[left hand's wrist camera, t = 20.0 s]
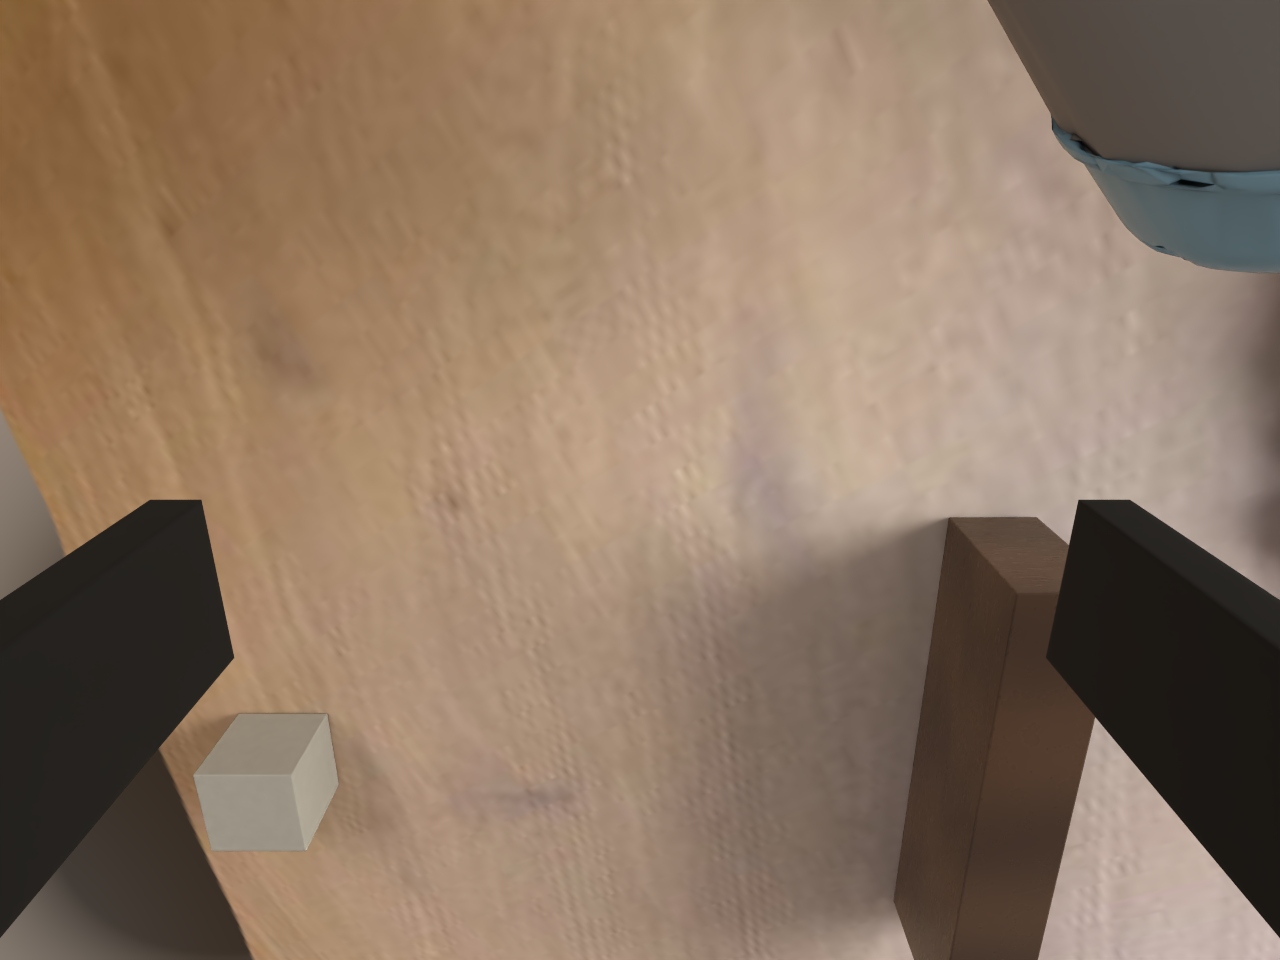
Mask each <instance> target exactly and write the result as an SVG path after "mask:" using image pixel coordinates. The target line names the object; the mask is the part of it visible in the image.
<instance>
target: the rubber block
mask: <svg viewBox="0 0 1280 960" xmlns="http://www.w3.org/2000/svg"><path fill="white" fill-rule="evenodd" d="M193 777H194V781H195V785H196V789H197V793H198V797H199V801H200V805H201V810H202V814H203V818H204V822H205V826H206V830H207V834H208V838H209V842H210V846H211V850H212V851H306V850H307V848H308V846H309V844H310V842H311V840H312V838H313V836H314V834H315V832H316V830H317V828H318V826H319V824H320V822H321V820H322V818H323V816H324V814H325V812H326V810H327V808H328V806H329V804H330V802H331V800H332V797H333V795H334V793H335V791H336V789H337V787H338V785H339V782H338V776H337V770H336V764H335V758H334V752H333V746H332V740H331V734H330V728H329V722H328V715H327V714H238V715H237V717H236V718H235V719H234V721H233V722H232V723H231V725H230V726H229V728H228V729H227V730H226V732H225V733H224V734H223V736H222V737H221V738H220V740H219V741H218V742H217V744H216V745H215V746H214V748H213V749H212V750H211V752H210V753H209V755H208V756H207V757H206V759H205V760H204V761H203V763H202V764H201V765H200V767H199V768H198V769H197V771H196V772H195V773H194V775H193Z"/></svg>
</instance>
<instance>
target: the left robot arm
mask: <svg viewBox="0 0 1280 960" xmlns="http://www.w3.org/2000/svg"><path fill="white" fill-rule="evenodd" d="M988 2H989V4H990V5H991V7H992V9H993V11H994V12H995V14H996V16H997V18H998V20H999V21H1000V23H1001V25H1002V27H1003V29H1004V30H1005V32H1006V34H1007V36H1008V38H1009V39H1010V41H1011V43H1012V45H1013V47H1014V48H1015V50H1016V52H1017V54H1018V56H1019V57H1020V59H1021V61H1022V63H1023V64H1024V66H1025V68H1026V70H1027V72H1028V73H1029V75H1030V77H1031V79H1032V81H1033V82H1034V84H1035V86H1036V88H1037V90H1038V91H1039V93H1040V95H1041V97H1042V99H1043V100H1044V102H1045V104H1046V106H1047V108H1048V109H1049V111H1050V113H1051V117H1052V130H1053V132H1054V134H1055V136H1056V138H1057V140H1058V141H1059V143H1060V144H1061V146H1062V147H1063V148H1064V149H1065V150H1066V151H1067V152H1068V153H1069V154H1070V155H1071V156H1072V157H1073V158H1075V159H1076V160H1078V161H1080V162H1082V163H1084V165H1085V166H1086V168H1087V169H1088V171H1089V172H1090V174H1091V175H1092V177H1093V178H1094V180H1095V182H1096V183H1097V185H1098V186H1099V188H1100V189H1101V191H1102V192H1103V194H1104V195H1105V197H1106V198H1107V200H1108V202H1109V203H1110V205H1111V206H1112V208H1113V209H1114V211H1115V212H1116V214H1117V215H1118V217H1119V218H1120V220H1121V221H1122V223H1123V224H1124V225H1125V226H1126V228H1127V229H1128V230H1129V231H1130V232H1131V233H1132V234H1133V235H1135V236H1136V237H1137V238H1138V239H1139V240H1140V241H1141V242H1143V243H1144V244H1146V245H1147V246H1149V247H1150V248H1152V249H1154V250H1156V251H1158V252H1162V253H1165V254H1169V255H1173V256H1177V257H1181V258H1183V259H1184V260H1189V261H1190V262H1192V263H1194V264H1196V265H1198V266H1202V267H1207V268H1211V269H1218V270H1226V271H1237V272H1252V273H1280V0H988ZM233 659H234V654H233V649H232V645H231V640H230V635H229V630H228V625H227V621H226V616H225V611H224V606H223V601H222V597H221V592H220V587H219V582H218V577H217V573H216V568H215V563H214V558H213V553H212V549H211V544H210V539H209V534H208V529H207V525H206V520H205V515H204V510H203V505H202V501H201V500H149V501H148V502H146V503H145V504H143V505H142V506H140V507H139V508H137V509H136V510H134V511H133V512H131V513H130V514H128V515H127V516H125V517H124V518H122V519H121V520H119V521H118V522H116V523H115V524H113V525H112V526H110V527H109V528H107V529H106V530H104V531H103V532H101V533H100V534H98V535H97V536H95V537H94V538H92V539H91V540H89V541H88V542H86V543H85V544H83V545H82V546H80V547H79V548H77V549H76V550H74V551H73V552H72V553H70V554H69V555H67V556H66V557H64V558H63V559H61V560H60V561H58V562H57V563H55V564H54V565H52V566H51V567H49V568H48V569H46V570H45V571H43V572H42V573H40V574H39V575H37V576H36V577H34V578H33V579H31V580H30V581H28V582H27V583H25V584H24V585H22V586H21V587H19V588H18V589H16V590H15V591H13V592H12V593H10V594H9V595H7V596H6V597H4V598H3V599H1V600H0V937H1V936H2V935H3V934H4V933H5V931H6V930H7V929H8V928H9V927H10V925H11V924H12V923H13V922H14V921H15V919H16V918H17V917H18V916H19V915H20V914H21V912H22V911H23V910H24V909H25V908H26V906H27V905H28V904H29V903H30V902H31V900H32V899H33V898H34V897H35V896H36V894H37V893H38V892H39V891H40V890H41V888H42V887H43V886H44V885H45V884H46V882H47V881H48V880H49V879H50V878H51V876H52V875H53V874H54V873H55V872H56V870H57V869H58V868H59V867H60V866H61V864H62V863H63V862H64V861H65V860H66V858H67V857H68V856H69V855H70V854H71V852H72V851H73V850H74V849H75V848H76V846H77V845H78V844H79V843H80V842H81V841H82V839H83V838H84V837H85V836H86V834H87V833H88V832H89V831H90V830H91V829H92V827H93V826H94V825H95V824H96V823H97V821H98V820H99V819H100V818H101V817H102V815H103V814H104V813H105V812H106V811H107V809H108V808H109V807H110V806H111V805H112V803H113V802H114V801H115V800H116V799H117V797H118V796H119V795H120V794H121V793H122V791H123V790H124V789H125V788H126V787H127V785H128V784H129V783H130V782H131V781H132V779H133V778H134V777H135V776H136V775H137V773H138V772H139V771H140V770H141V769H142V767H143V766H144V765H145V764H146V763H147V761H148V760H149V759H150V758H151V757H152V755H153V754H154V753H155V752H156V751H157V750H158V748H159V747H160V746H161V745H162V744H163V742H164V741H165V740H166V739H167V738H168V736H169V735H170V734H171V733H172V732H173V730H174V729H175V728H176V727H177V726H178V724H179V723H180V722H181V721H182V720H183V718H184V717H185V716H186V715H187V714H188V712H189V711H190V710H191V709H192V708H193V706H194V705H195V704H196V703H197V702H198V700H199V699H200V698H201V697H202V696H203V694H204V693H205V692H206V691H207V690H208V688H209V687H210V686H211V685H212V684H213V682H214V681H215V680H216V679H217V678H218V677H219V675H220V674H221V673H222V672H223V671H224V669H225V668H226V667H227V666H228V665H229V663H230V662H231V661H232V660H233ZM1046 659H1047V660H1048V661H1049V662H1050V663H1051V665H1052V666H1053V667H1054V668H1055V669H1056V671H1057V672H1058V673H1059V674H1060V675H1061V677H1062V678H1063V679H1064V680H1065V681H1066V682H1067V684H1068V685H1069V686H1070V687H1071V688H1072V690H1073V691H1074V692H1075V693H1076V694H1077V696H1078V697H1079V698H1080V699H1081V700H1082V702H1083V703H1084V704H1085V705H1086V706H1087V708H1088V709H1089V710H1090V711H1091V712H1092V714H1093V715H1094V716H1095V717H1096V718H1097V720H1098V721H1099V722H1100V723H1101V724H1102V726H1103V727H1104V728H1105V729H1106V730H1107V732H1108V733H1109V734H1110V735H1111V736H1112V738H1113V739H1114V740H1115V741H1116V742H1117V744H1118V745H1119V746H1120V747H1121V748H1122V750H1123V751H1124V752H1125V753H1126V754H1127V756H1128V757H1129V758H1130V759H1131V760H1132V761H1133V763H1134V764H1135V765H1136V766H1137V767H1138V769H1139V770H1140V771H1141V772H1142V773H1143V775H1144V776H1145V777H1146V778H1147V779H1148V781H1149V782H1150V783H1151V784H1152V785H1153V787H1154V788H1155V789H1156V790H1157V791H1158V793H1159V794H1160V795H1161V796H1162V797H1163V799H1164V800H1165V801H1166V802H1167V803H1168V805H1169V806H1170V807H1171V808H1172V809H1173V811H1174V812H1175V813H1176V814H1177V815H1178V817H1179V818H1180V819H1181V820H1182V821H1183V823H1184V824H1185V825H1186V826H1187V827H1188V829H1189V830H1190V831H1191V832H1192V833H1193V835H1194V836H1195V837H1196V838H1197V839H1198V841H1199V842H1200V843H1201V844H1202V845H1203V846H1204V848H1205V849H1206V850H1207V851H1208V852H1209V854H1210V855H1211V856H1212V857H1213V858H1214V860H1215V861H1216V862H1217V863H1218V864H1219V866H1220V867H1221V868H1222V869H1223V870H1224V872H1225V873H1226V874H1227V875H1228V876H1229V878H1230V879H1231V880H1232V881H1233V882H1234V884H1235V885H1236V886H1237V887H1238V888H1239V890H1240V891H1241V892H1242V893H1243V894H1244V896H1245V897H1246V898H1247V899H1248V900H1249V902H1250V903H1251V904H1252V905H1253V906H1254V908H1255V909H1256V910H1257V911H1258V912H1259V914H1260V915H1261V916H1262V917H1263V918H1264V920H1265V921H1266V922H1267V923H1268V924H1269V926H1270V927H1271V928H1272V929H1273V930H1274V931H1275V933H1276V934H1277V935H1278V936H1279V937H1280V600H1279V599H1277V598H1276V597H1274V596H1273V595H1271V594H1270V593H1268V592H1267V591H1265V590H1264V589H1262V588H1261V587H1259V586H1258V585H1256V584H1255V583H1253V582H1252V581H1250V580H1249V579H1247V578H1246V577H1244V576H1243V575H1241V574H1240V573H1238V572H1237V571H1235V570H1234V569H1232V568H1231V567H1229V566H1228V565H1226V564H1225V563H1223V562H1222V561H1220V560H1219V559H1217V558H1216V557H1214V556H1213V555H1211V554H1210V553H1208V552H1207V551H1206V550H1204V549H1203V548H1201V547H1200V546H1198V545H1197V544H1195V543H1194V542H1192V541H1191V540H1189V539H1188V538H1186V537H1185V536H1183V535H1182V534H1180V533H1179V532H1177V531H1176V530H1174V529H1173V528H1171V527H1170V526H1168V525H1167V524H1165V523H1164V522H1162V521H1161V520H1159V519H1158V518H1156V517H1155V516H1153V515H1152V514H1150V513H1149V512H1147V511H1146V510H1144V509H1143V508H1141V507H1140V506H1138V505H1137V504H1135V503H1134V502H1132V501H1131V500H1079V501H1078V505H1077V510H1076V515H1075V520H1074V525H1073V529H1072V534H1071V539H1070V544H1069V549H1068V553H1067V558H1066V563H1065V568H1064V573H1063V577H1062V582H1061V587H1060V592H1059V597H1058V601H1057V606H1056V611H1055V616H1054V621H1053V625H1052V630H1051V635H1050V640H1049V645H1048V649H1047V654H1046Z"/></svg>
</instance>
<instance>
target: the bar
mask: <svg viewBox="0 0 1280 960" xmlns="http://www.w3.org/2000/svg"><path fill="white" fill-rule="evenodd" d="M1068 549H1069V545H1068V544H1067V543H1066V542H1064V541H1063V540H1062V539H1061V538H1060V537H1059V536H1058V535H1056V534H1055V533H1054V532H1053V531H1052V530H1051V529H1050V528H1048V527H1047V526H1046V525H1045V524H1044V523H1043V522H1042V521H1040V520H1039V519H1038V518H1036V517H996V518H949V521H948V528H947V535H946V542H945V549H944V556H943V563H942V570H941V577H940V584H939V591H938V598H937V605H936V612H935V619H934V625H933V632H932V639H931V646H930V653H929V660H928V667H927V674H926V681H925V688H924V695H923V702H922V709H921V716H920V723H919V729H918V736H917V743H916V750H915V757H914V764H913V771H912V778H911V785H910V792H909V799H908V806H907V813H906V820H905V827H904V833H903V840H902V847H901V854H900V861H899V868H898V875H897V882H896V889H895V896H894V903H895V906H896V909H897V912H898V915H899V918H900V921H901V923H902V926H903V929H904V932H905V935H906V938H907V941H908V944H909V946H910V949H911V952H912V955H913V958H914V960H1038V956H1039V952H1040V948H1041V944H1042V940H1043V935H1044V931H1045V927H1046V923H1047V918H1048V914H1049V910H1050V906H1051V902H1052V897H1053V893H1054V889H1055V885H1056V880H1057V876H1058V872H1059V868H1060V863H1061V859H1062V855H1063V851H1064V847H1065V842H1066V838H1067V834H1068V830H1069V825H1070V821H1071V817H1072V813H1073V809H1074V804H1075V800H1076V796H1077V792H1078V787H1079V783H1080V779H1081V775H1082V771H1083V766H1084V762H1085V758H1086V754H1087V749H1088V745H1089V741H1090V737H1091V733H1092V728H1093V724H1094V720H1095V716H1094V715H1093V714H1092V712H1091V711H1090V710H1089V709H1088V708H1087V706H1086V705H1085V704H1084V703H1083V702H1082V700H1081V699H1080V698H1079V697H1078V696H1077V694H1076V693H1075V692H1074V691H1073V690H1072V688H1071V687H1070V686H1069V685H1068V684H1067V682H1066V681H1065V680H1064V679H1063V678H1062V677H1061V675H1060V674H1059V673H1058V672H1057V671H1056V669H1055V668H1054V667H1053V666H1052V665H1051V663H1050V662H1049V661H1048V660H1047V659H1046V654H1047V649H1048V645H1049V640H1050V635H1051V630H1052V625H1053V621H1054V616H1055V611H1056V606H1057V601H1058V597H1059V592H1060V587H1061V582H1062V577H1063V573H1064V568H1065V563H1066V558H1067V553H1068Z"/></svg>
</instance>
